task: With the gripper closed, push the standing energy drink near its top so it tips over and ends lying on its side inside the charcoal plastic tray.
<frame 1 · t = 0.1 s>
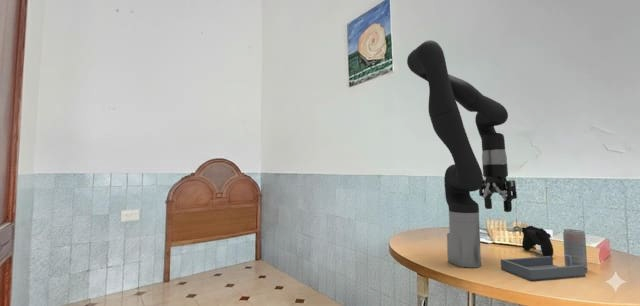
hand: (497, 210, 106), 17 cm above the table, tool pointing down, fingers open, 8 cm apart
tray: (541, 272, 93), on the table
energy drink: (576, 270, 95), on the table
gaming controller: (537, 254, 114), on the table
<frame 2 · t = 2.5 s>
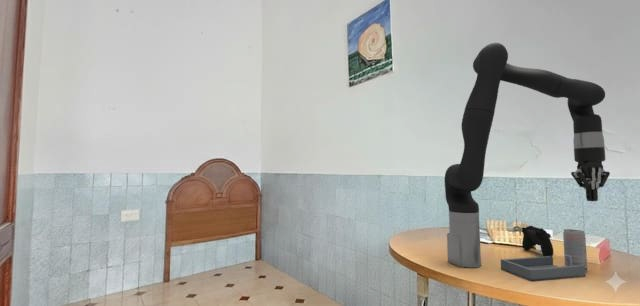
hand: (592, 201, 98), 21 cm above the table, tool pointing down, fingers closed
nothing on the table moved.
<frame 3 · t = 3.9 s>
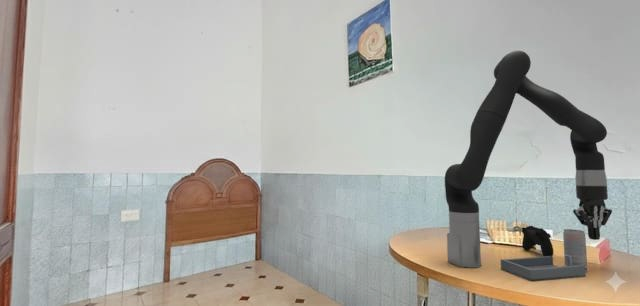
hand: (594, 239, 97), 9 cm above the table, tool pointing down, fingers closed
nothing on the table moved.
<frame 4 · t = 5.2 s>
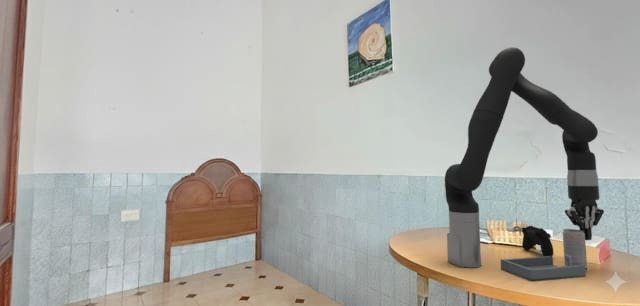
hand: (586, 239, 97), 9 cm above the table, tool pointing down, fingers closed
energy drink: (576, 270, 95), on the table, touching gripper
everything else where it was.
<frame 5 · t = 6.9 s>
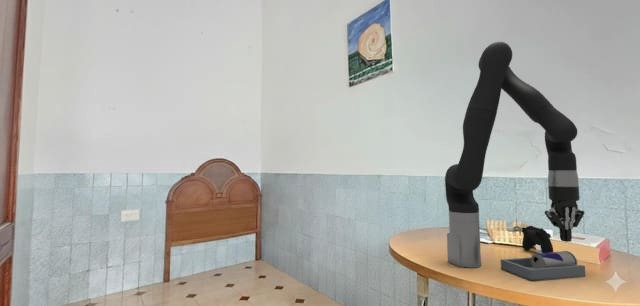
hand: (566, 241, 95), 9 cm above the table, tool pointing down, fingers closed
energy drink: (569, 259, 95), point 3 cm above the table, touching tray
everything else where it was.
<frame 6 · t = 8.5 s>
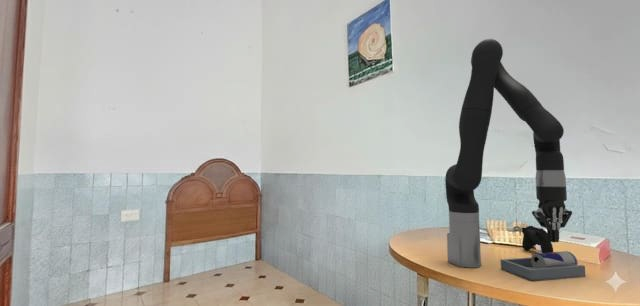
hand: (553, 241, 94), 9 cm above the table, tool pointing down, fingers closed
nothing on the table moved.
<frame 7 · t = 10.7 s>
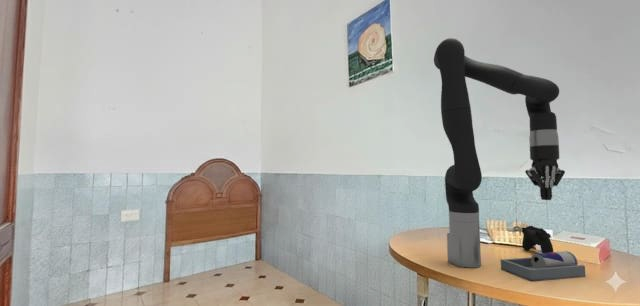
hand: (546, 199, 97), 22 cm above the table, tool pointing down, fingers closed
nothing on the table moved.
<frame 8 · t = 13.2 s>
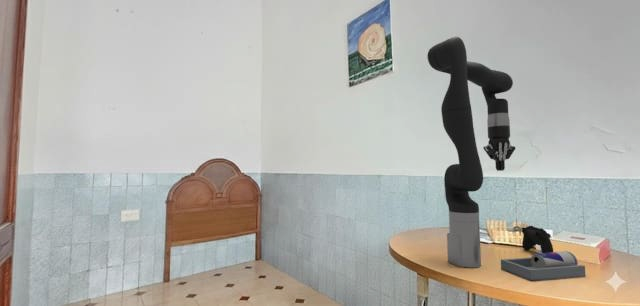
hand: (500, 170, 119), 31 cm above the table, tool pointing down, fingers closed
nothing on the table moved.
at the end: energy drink tilted 90°; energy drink inside the target area (0.7 cm from its centre), point 3.2 cm above the table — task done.
